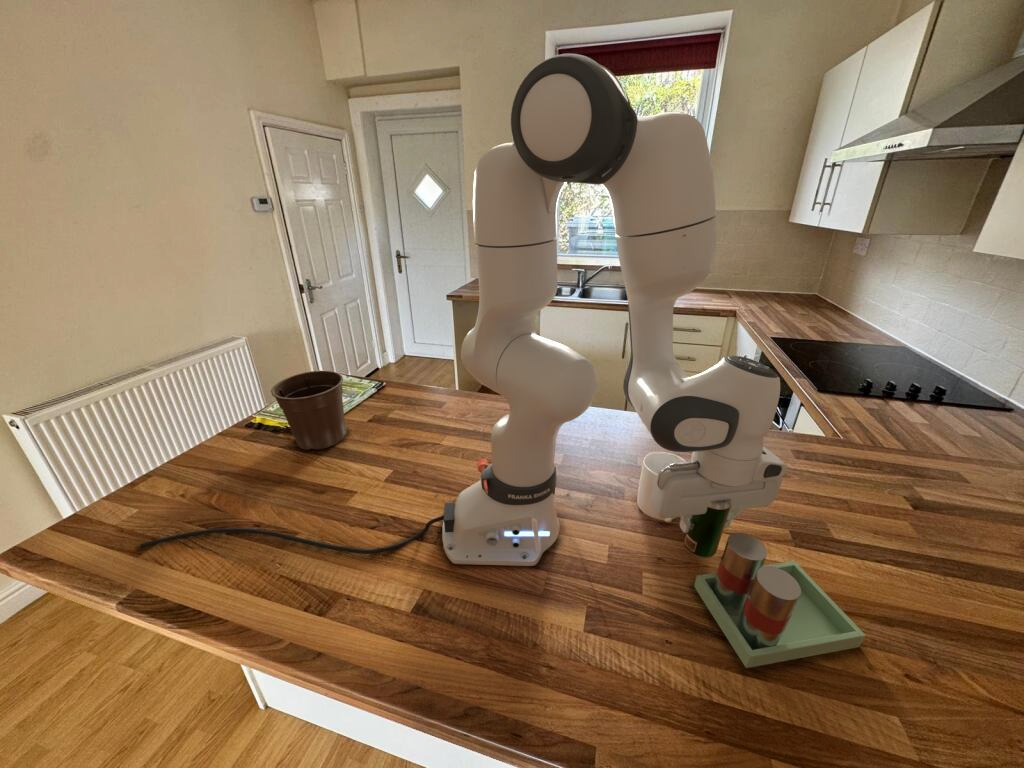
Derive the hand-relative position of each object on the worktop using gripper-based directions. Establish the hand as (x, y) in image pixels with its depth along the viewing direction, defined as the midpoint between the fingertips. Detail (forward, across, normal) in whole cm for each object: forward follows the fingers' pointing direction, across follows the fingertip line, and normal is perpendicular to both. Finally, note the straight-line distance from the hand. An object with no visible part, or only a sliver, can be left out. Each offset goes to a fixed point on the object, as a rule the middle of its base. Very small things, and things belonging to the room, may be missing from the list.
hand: (704, 527), depth 67 cm
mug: (+8, 0, +12) cm, 14 cm away
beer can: (+5, 0, 0) cm, 5 cm away
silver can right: (+7, 0, -14) cm, 16 cm away
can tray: (+8, +5, -12) cm, 15 cm away
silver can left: (+7, 0, -8) cm, 11 cm away
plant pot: (+9, -75, +53) cm, 92 cm away
